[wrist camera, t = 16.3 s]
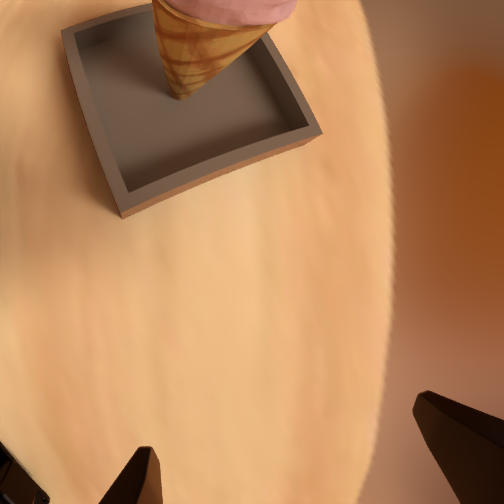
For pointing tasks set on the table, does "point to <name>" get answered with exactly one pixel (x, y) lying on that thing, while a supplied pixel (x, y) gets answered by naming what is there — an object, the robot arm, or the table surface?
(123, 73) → the tray
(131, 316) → the table surface
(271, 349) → the table surface
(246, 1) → the ice cream cone
